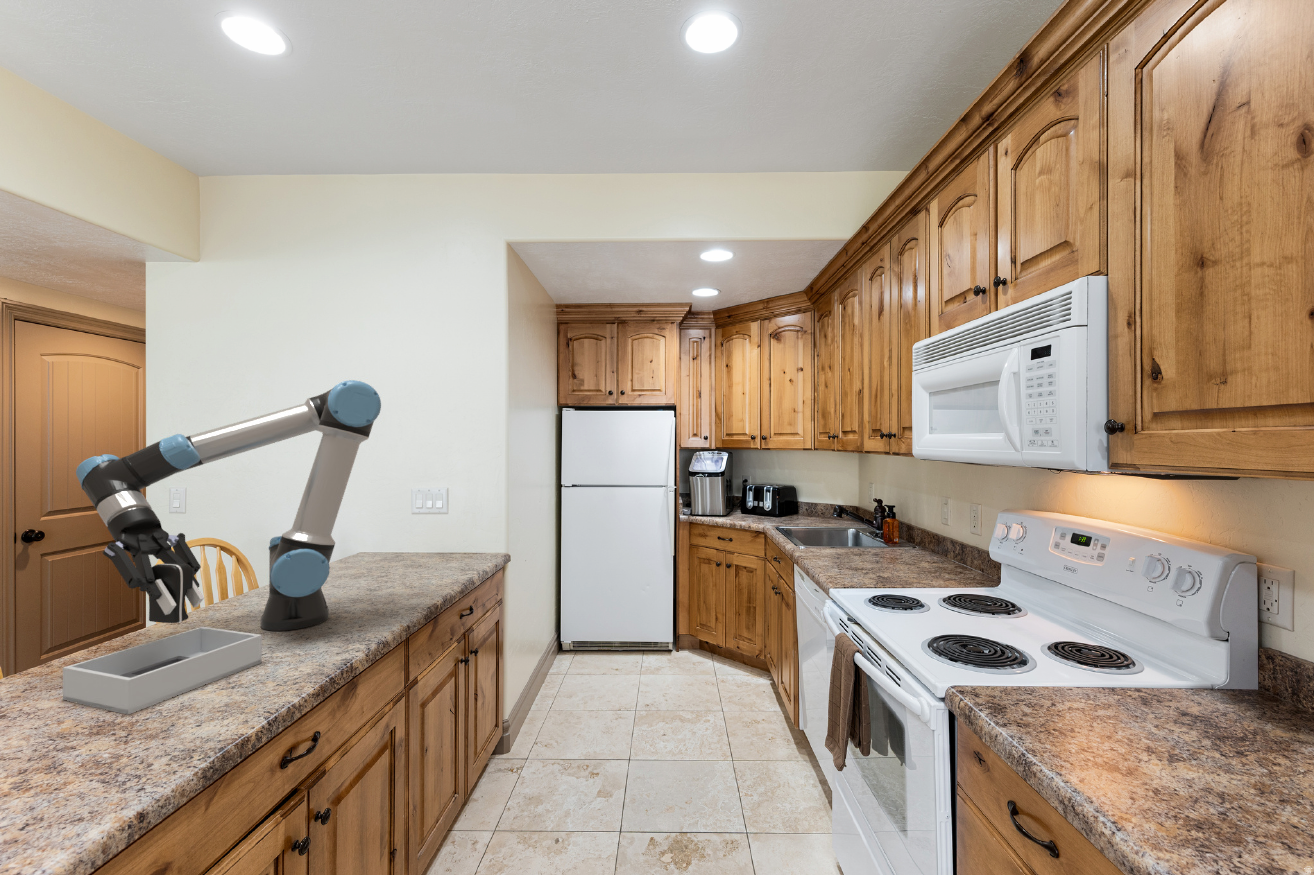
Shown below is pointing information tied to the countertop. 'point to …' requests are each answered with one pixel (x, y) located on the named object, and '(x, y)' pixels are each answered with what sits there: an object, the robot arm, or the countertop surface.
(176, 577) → the battery charger
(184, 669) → the bin
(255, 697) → the countertop surface
